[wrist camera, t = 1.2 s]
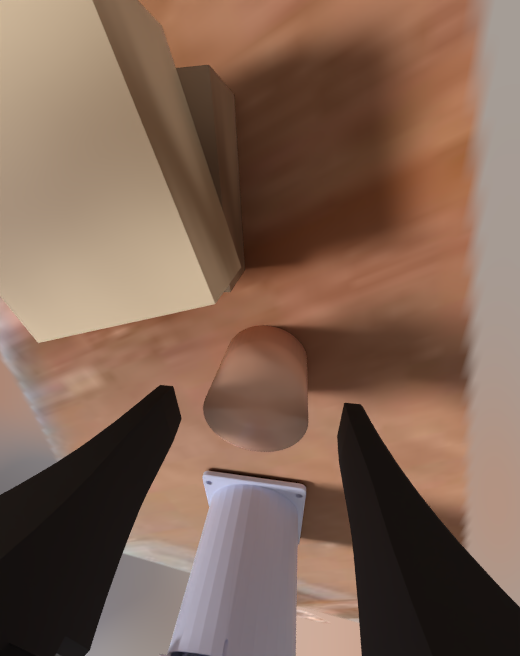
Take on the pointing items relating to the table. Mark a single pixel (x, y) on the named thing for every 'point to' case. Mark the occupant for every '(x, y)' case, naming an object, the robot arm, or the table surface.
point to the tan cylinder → (260, 391)
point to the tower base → (217, 144)
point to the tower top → (101, 173)
